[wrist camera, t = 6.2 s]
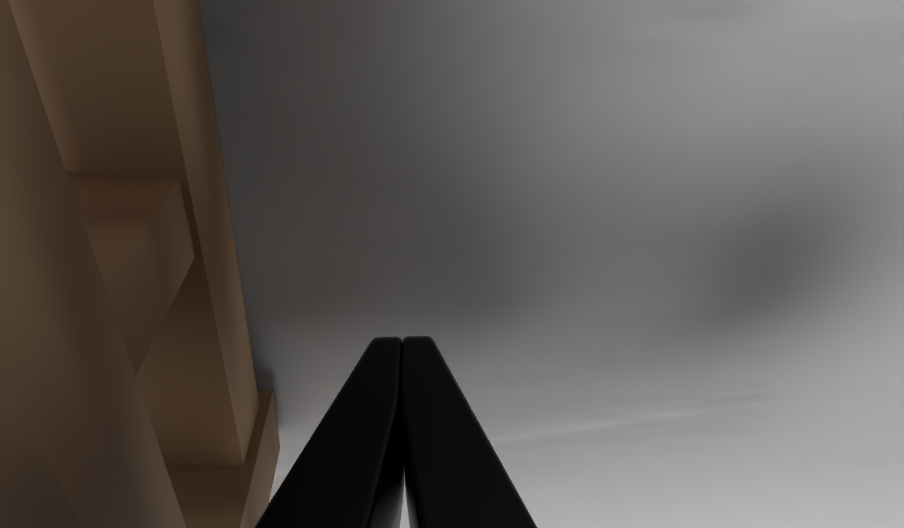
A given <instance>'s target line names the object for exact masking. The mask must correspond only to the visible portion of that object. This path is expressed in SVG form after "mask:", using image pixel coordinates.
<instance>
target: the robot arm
mask: <svg viewBox="0 0 904 528" xmlns="http://www.w3.org/2000/svg"><path fill="white" fill-rule="evenodd" d="M404 472H405V487H406V498H407V508H408V516H409V524H410V528H537V526H536V525H535V523H534V521H533V519H532V517H531V516H530V514H529V512H528V510H527V508H526V507H525V505H524V503H523V501H522V499H521V498H520V496H519V494H518V492H517V490H516V488H515V487H514V485H513V483H512V481H511V479H510V478H509V476H508V474H507V472H506V470H505V469H504V467H503V465H502V463H501V461H500V460H499V458H498V456H497V454H496V452H495V451H494V449H493V447H492V445H491V443H490V442H489V440H488V438H487V436H486V434H485V432H484V431H483V429H482V427H481V425H480V423H479V422H478V420H477V418H476V416H475V414H474V413H473V411H472V409H471V407H470V405H469V404H468V402H467V400H466V398H465V396H464V395H463V393H462V391H461V389H460V387H459V386H458V384H457V382H456V380H455V378H454V377H453V375H452V373H451V371H450V369H449V367H448V366H447V364H446V362H445V360H444V358H443V357H442V355H441V353H440V351H439V349H438V348H437V346H436V344H435V342H434V341H433V339H432V338H431V337H429V336H409V337H405V338H404V339H403V343H402V340H401V338H399V337H377V338H374V339H373V340H372V341H371V342H370V344H369V346H368V347H367V349H366V350H365V352H364V353H363V355H362V357H361V358H360V360H359V361H358V363H357V365H356V366H355V368H354V369H353V371H352V373H351V374H350V376H349V377H348V379H347V381H346V382H345V384H344V385H343V387H342V389H341V390H340V392H339V393H338V395H337V397H336V398H335V400H334V401H333V403H332V404H331V406H330V408H329V409H328V411H327V412H326V414H325V416H324V417H323V419H322V420H321V422H320V424H319V425H318V427H317V428H316V430H315V432H314V433H313V435H312V436H311V438H310V440H309V441H308V443H307V444H306V446H305V447H304V449H303V451H302V452H301V454H300V455H299V457H298V459H297V460H296V462H295V463H294V465H293V467H292V468H291V470H290V471H289V473H288V475H287V476H286V478H285V479H284V481H283V483H282V484H281V486H280V487H279V489H278V490H277V492H276V494H275V495H274V497H273V498H272V500H271V502H270V503H269V505H268V506H267V508H266V510H265V511H264V513H263V514H262V516H261V518H260V519H259V521H258V522H257V524H256V526H255V527H254V528H399V527H400V519H401V511H402V503H403V492H404Z"/></svg>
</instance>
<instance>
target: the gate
mask: <svg viewBox="0 0 904 528" xmlns="http://www.w3.org/2000/svg"><path fill="white" fill-rule="evenodd" d="M279 450H280V443H279V435H278V427H277V419H276V411H275V403H274V395H273V391H266V390H257V387H256V380H255V373H254V367H253V360H252V353H251V347H250V340H249V333H248V327H247V320H246V314H245V307H244V300H243V294H242V287H241V280H240V274H239V267H238V260H237V254H236V247H235V241H234V234H233V227H232V221H231V214H230V207H229V201H228V194H227V187H226V181H225V174H224V168H223V161H222V154H221V148H220V141H219V134H218V128H217V121H216V114H215V108H214V101H213V95H212V88H211V81H210V75H209V68H208V61H207V55H206V48H205V41H204V35H203V28H202V22H201V15H200V8H199V2H198V0H0V528H254V527H255V526H256V524H257V522H258V521H259V519H260V518H261V516H262V514H263V513H264V511H265V510H266V508H267V506H268V502H269V497H270V493H271V488H272V483H273V478H274V474H275V469H276V464H277V459H278V454H279Z"/></svg>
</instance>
